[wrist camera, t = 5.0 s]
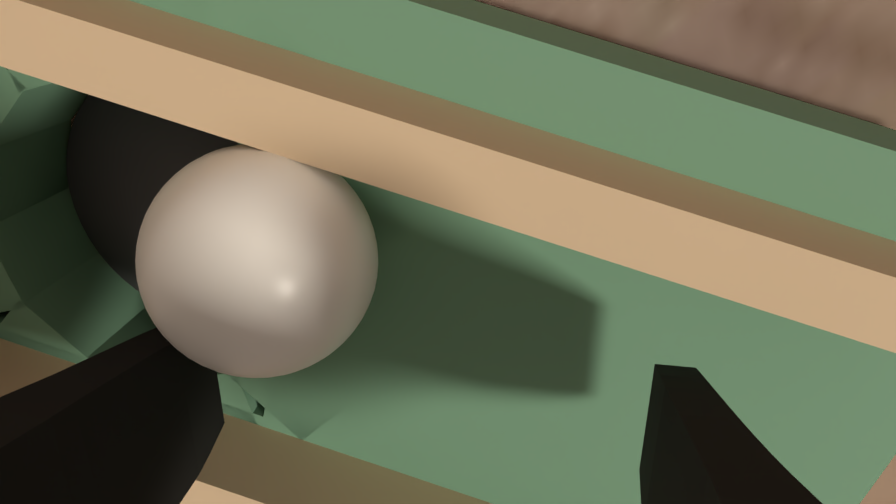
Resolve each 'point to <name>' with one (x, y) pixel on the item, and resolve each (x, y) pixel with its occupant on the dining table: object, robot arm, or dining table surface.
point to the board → (465, 242)
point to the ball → (256, 262)
